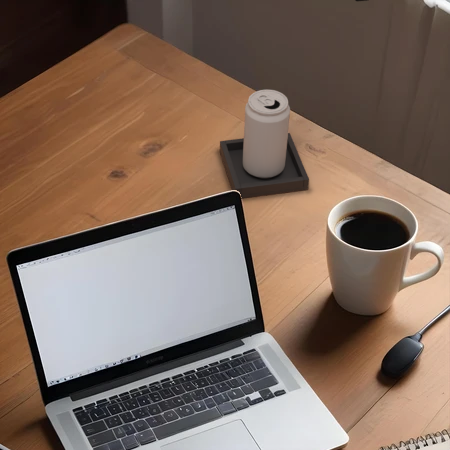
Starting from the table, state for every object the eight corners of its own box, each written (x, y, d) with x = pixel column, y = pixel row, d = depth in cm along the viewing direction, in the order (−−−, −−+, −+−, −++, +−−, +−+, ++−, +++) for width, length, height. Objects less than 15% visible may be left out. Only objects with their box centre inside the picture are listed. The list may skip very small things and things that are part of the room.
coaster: (288, 143, 131) (289, 132, 129) (307, 190, 124) (309, 179, 123) (219, 151, 129) (219, 140, 128) (235, 199, 123) (235, 188, 121)
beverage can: (263, 187, 123) (268, 120, 114) (233, 166, 126) (236, 99, 117) (293, 168, 126) (300, 102, 117) (263, 148, 129) (268, 81, 120)
